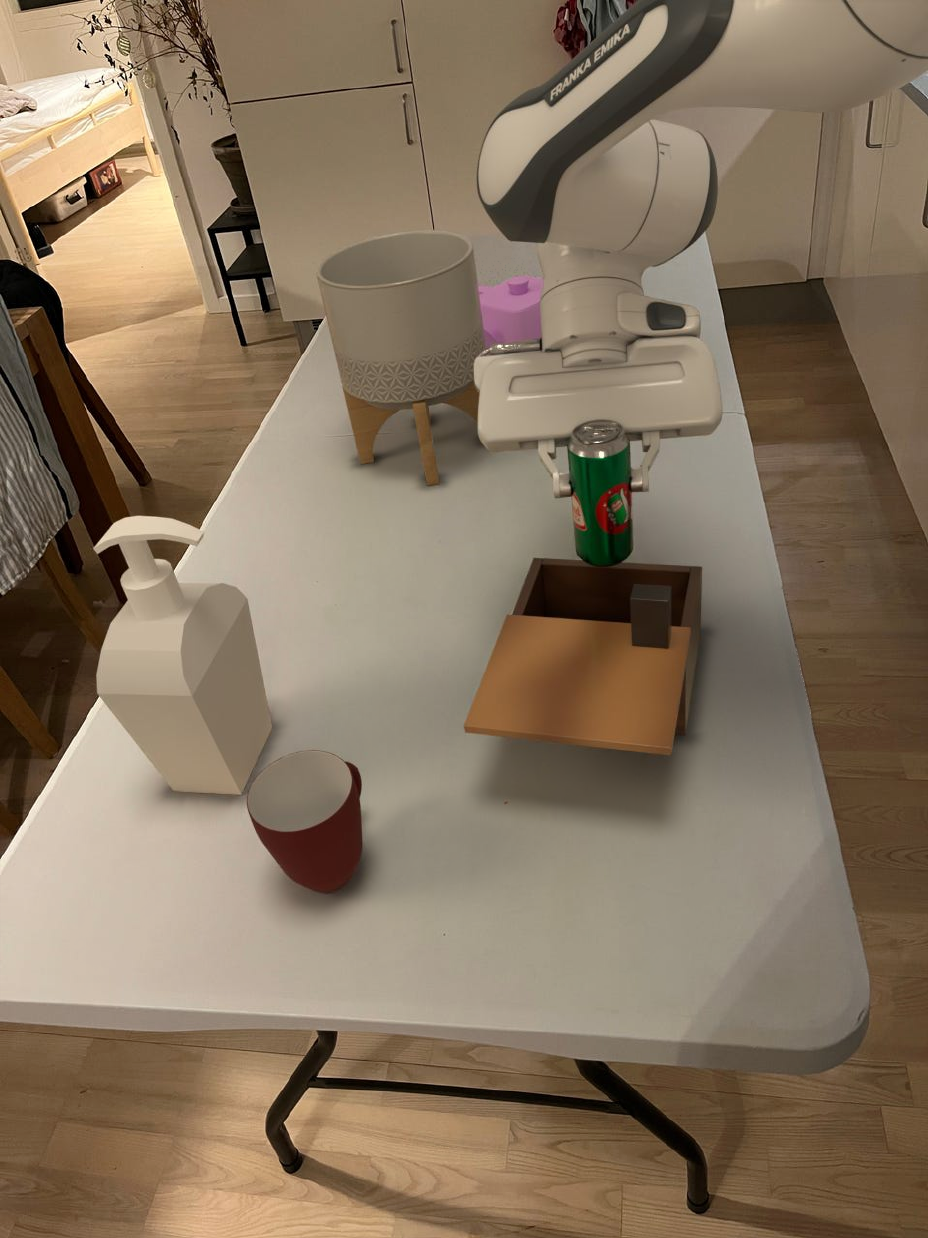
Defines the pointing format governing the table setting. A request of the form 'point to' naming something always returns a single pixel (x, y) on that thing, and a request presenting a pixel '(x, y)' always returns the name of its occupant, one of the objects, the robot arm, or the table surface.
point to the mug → (310, 817)
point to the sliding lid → (587, 679)
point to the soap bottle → (183, 666)
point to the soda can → (601, 492)
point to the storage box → (615, 600)
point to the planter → (404, 330)
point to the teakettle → (511, 310)
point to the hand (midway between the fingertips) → (601, 493)
